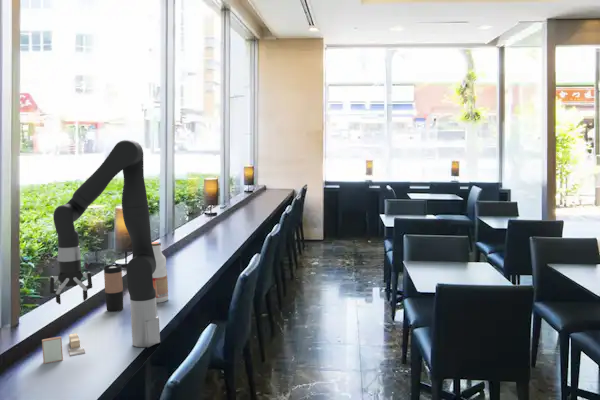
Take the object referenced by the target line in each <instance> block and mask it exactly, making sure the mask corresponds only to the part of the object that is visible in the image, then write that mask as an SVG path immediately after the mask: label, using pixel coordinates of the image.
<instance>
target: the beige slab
mask: <svg viewBox="0 0 600 400" xmlns="http://www.w3.org/2000/svg"><path fill="white" fill-rule="evenodd" d="M68 339H69V340H68V341H69V344H70V348H68V354H69V357H72V356H77V355H82V354H86V350H85V347H84V346H81V343H80V342H81V341H80V338H79V335H78V333H77V332H76V333H71V334H68Z"/></svg>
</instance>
